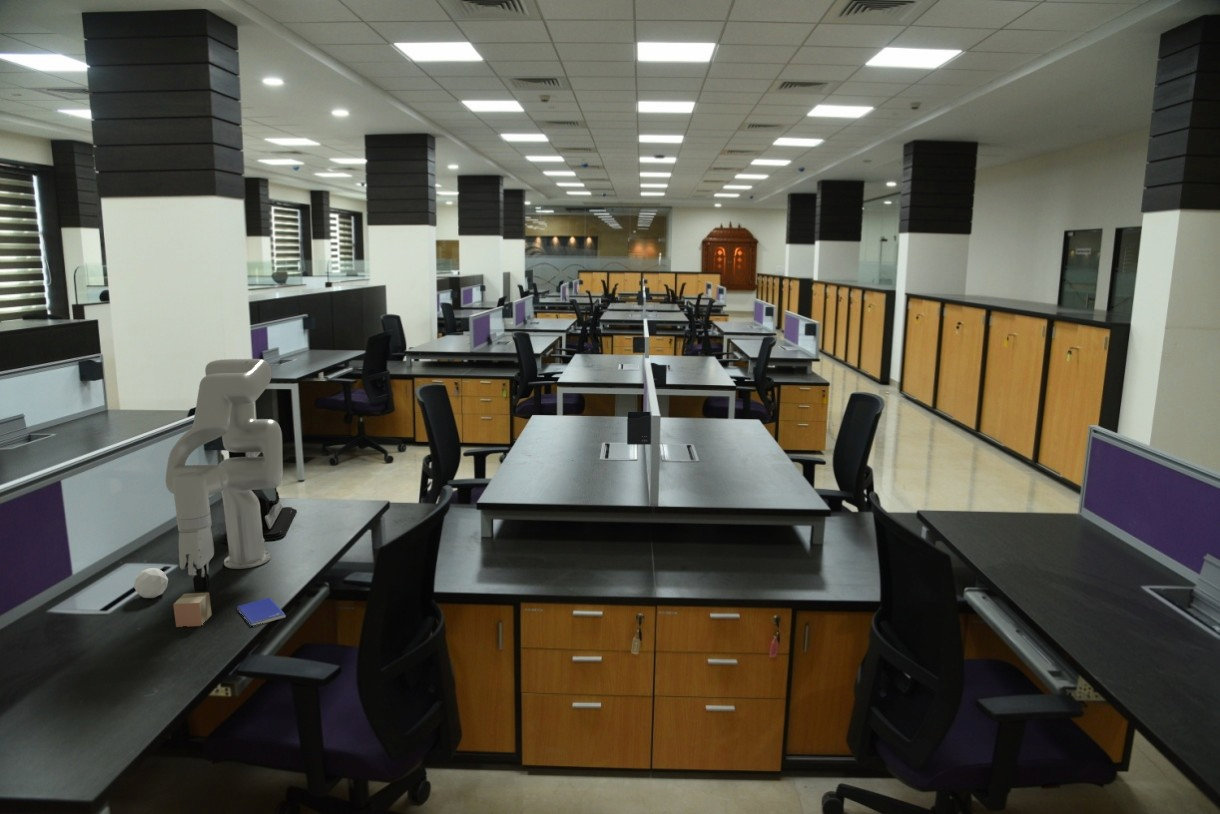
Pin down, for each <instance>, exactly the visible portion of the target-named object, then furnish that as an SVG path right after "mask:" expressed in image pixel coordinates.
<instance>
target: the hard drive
mask: <svg viewBox="0 0 1220 814" xmlns="http://www.w3.org/2000/svg"><path fill="white" fill-rule="evenodd" d="M238 610H239V611H238ZM237 611H238V613H240V615H241V614H242V615H243V616H244V617H243V616H242V615H241V616H242V617H243V619H244V620H245V619H246V620H247V621H248V622H249V624H250V625H256V624H260V623H261V624H260V625H263V624H266V623H271V622H273V621H276V620H281V619H284V618H286V613H284V611H283V610H282V609H281V608H280V607H279V606H278V605H277V603H276V602H274V601H273V599H272V598H271V597H267V598H262V599H259V600H255V601H252V602H248V603H245V604H241V605H238V606H237ZM246 620H245V621H246ZM247 621H246V622H247ZM248 622H247V623H248ZM262 623H263V624H262ZM249 624H248V625H249ZM250 625H249V626H250ZM256 626H257V625H256Z"/></svg>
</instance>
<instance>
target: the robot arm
mask: <svg viewBox="0 0 1220 814" xmlns="http://www.w3.org/2000/svg"><path fill="white" fill-rule="evenodd" d="M204 372H205V376H204V377H202V379H201V380H200V382H199V386H198V392H197V397H196V404H195V405H196V406H195V410H194V411H195V412H194V417H193V424H192V426H191V428H189V430H187V431H186V432H185V433H184V434H183V435H182V436H181V437H180V438H179V439H178V440H177V442H176V443H175V444H174V446H173V447H172V448H171V450H170V453H169V456H168V460H167V466H166V472H165V485H166V489H167V490H168V492H170V493H171V494H173V496H174V499H173V500H174V507H175V513H176V514H175V515H176V523H177V530H178V558H179V559H178V561H179V569H180V570H182V571H185V570H186V569H187V568H188V569H187V572H188V574H187V575H188V576H189V577H192V581H193V590H194V593H203V592H208V591H209V589H211V583H210V575H209V573H210V571H209V570H210V569H209V568H210V567H209V566H210V564H209V563H210V561H211V559H213V557H214V555H215V546H214V539H213V534H212V528H211V526H212V525H213V523H212V515H211V507H210V499H209V497H210V496H213V495H216V494H219V493H221V496H222V497H221V498H222V503H223V510H224V512H223V513H224V520H225V521H224V522H225V527H226V528H225V529H226V533H227V540H228V544H227V545H228V546H227V548H228V556H227V557H226V558H224V560H223V564H224V566H225V567H226V568H228V569H236V570H242V569H250V568H254V567H257V566H261V565H264V564H266V563H267V562H268V561H269V560H271V558H272V556H271V552H269V551H268V550H265V544H264V543H265V542H266V541H265V539H264V538H263V532H262V522H261V512H260V503H259V500H258V498H257V496H256V495H255V494H254V493H253V492H252V490H259V489H273V488H276V489H277V488H278V487H279V486H280V485H281V483H282V480H283V475H284V474H283V472H284V470H283V469H284V466H283V463H284V462H283V461H284V460H283V432H282V429H281V428H282V427H280V424H279V423H278V422H277V421H276V420H274V419H270V418H269V419H267V418H259V419H256V418H255V403H254V402H256V401H257V400H258V399H259V398H260V396H261V395H262V394H263V393H264V391H265V390H266V389H267V388H268V386H269V385H270V382H271V380H272V368H271V365H270V363H268V362H267V361H266V360H264V359H262V358H261V359H260V358H242V359H241V358H238V359H237V358H235V359H234V358H233V359H232V358H230V359H229V358H228V359H216V360H213V361H210V362H208V363H207V364H206V366H205V370H204ZM218 438H221V439H222V445H223V448H224V449H225V450H226V451H227V452H228V453H229V452H261V453H262V456H261V457H235V458H229V457H228V458H226V459H223V460H221V462H219V463H218V464H193V465H192V464H190V465H186V461H187V460H188V458H189V456H190V455H191V454H192V453H193V452H194V451H196V450H197V449H199V448H200V447H202V446H204V445H206V444H208V443H210V442H212V441H214V440H217V439H218Z"/></svg>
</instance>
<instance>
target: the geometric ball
mask: <svg viewBox="0 0 1220 814" xmlns="http://www.w3.org/2000/svg"><path fill="white" fill-rule="evenodd" d="M168 582H169V577H168V576H167V575H166V572H164V571H162V570H161V569H159V568H157V567H156V568H155V567H153V568H151V567H149V568H146V569H143V570H141V571H140V572H139V573H138V574H137V576H136V578H135V581H134V584H133V588H134V589H135V591H136V593H137V594H138V595H139V596H141V598H143V599H144V598H145V599H155V598H156V597H159V596H161V595H162V594H163V593H164V592H165V591H166V589H167V587H168Z"/></svg>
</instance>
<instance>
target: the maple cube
mask: <svg viewBox="0 0 1220 814" xmlns="http://www.w3.org/2000/svg"><path fill="white" fill-rule="evenodd" d="M173 612H174V618H175V619H174V620H175V627H176V628H183V626H187V627H201V625H202V626H203V625H204V624H205V623H206V622H207V621H208V620H209V618H211V616H213V615H212V614H213V613H212V605H211V597H210V592H193V593H183V594H182V595H181V596H180V597H179V598H178V599H177V600H176V601H175V602H174V603H173ZM205 621H206V622H205ZM204 622H205V623H204ZM203 623H204V624H203Z"/></svg>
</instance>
